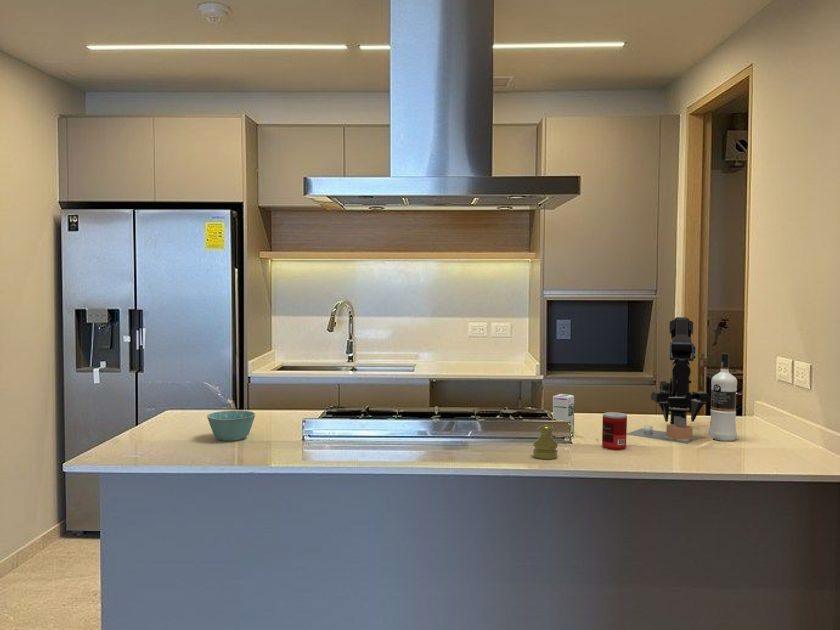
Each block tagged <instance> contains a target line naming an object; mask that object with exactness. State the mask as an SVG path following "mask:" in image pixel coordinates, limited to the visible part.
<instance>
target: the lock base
mask: <svg viewBox="0 0 840 630" xmlns="http://www.w3.org/2000/svg"><path fill="white" fill-rule="evenodd" d="M653 428H654V426H652V425H644V426H643V428H641V427H640V428H639V429H636V430H633V431H630V432H627V436H635V437H641V438H647V439H653V440H659V441H660V440H661V441H667V442H674V443H679V444H686V445H689V444H690V443H692V442H695V441H697V440H699V439H702V438H703V437H702V436H696V435H693V436H692V439H673V438H671V437H669V436H667V435H666V431H661V430H656V429H655V430H654V429H653Z"/></svg>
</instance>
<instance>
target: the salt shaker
mask: <svg viewBox="0 0 840 630" xmlns="http://www.w3.org/2000/svg"><path fill="white" fill-rule="evenodd" d="M537 431H539V432H540V436H539V437H537V439H535V440H534V441H533V442H532V446H533V447H534V448H533V450H532V451H533V454H532V455H533V457H534V458H536V459H540V460H554V459H556V458H558V450H557V448H558V446H559V445H558V442H557V441H555V440H554V438H553V437H552V436H551V434H552V433H553V431H554V428H553V426H552V425H551V426H550V425H549V424H542V425H540V426H538V427H537Z"/></svg>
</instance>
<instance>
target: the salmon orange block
mask: <svg viewBox="0 0 840 630" xmlns="http://www.w3.org/2000/svg"><path fill="white" fill-rule="evenodd" d="M685 424H686V425H685ZM689 426H690V425H687V421H686V419H685V418H682V417H680V416H674V424H670V423H669V424H668V423H667V424H666V429H665V430H666V431H665V432H666V435H667V436H669V437H671V438H673V439H692V436H694V435H693V432H694V431H693V430H694V429H693V427H692V426H690V427H689Z"/></svg>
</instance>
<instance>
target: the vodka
mask: <svg viewBox="0 0 840 630" xmlns="http://www.w3.org/2000/svg"><path fill="white" fill-rule="evenodd" d="M720 357H721V358H720V372H718V373H716V374H714V376H712V378H711V382H710V383H711V388H710V389H711V395H710V396H711V397H710V405H711V406H710V409H709V410H710V421H709V427H708V428H709V429H708V430H707V431H708V433H707V435H708V436H709V437H711V438H712V440H713V439H714V441H718V440H720V442H733V441H735V440H737V438H738V433H737V426H736V425H737V424H736V421H737V420H736V416H737V411H736V410H737V391H738V388H737V386H738V379H737V378H736V376H734V375H733V374H732V373H730V372H729V369H730V353H727V352H722V353H720Z"/></svg>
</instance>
